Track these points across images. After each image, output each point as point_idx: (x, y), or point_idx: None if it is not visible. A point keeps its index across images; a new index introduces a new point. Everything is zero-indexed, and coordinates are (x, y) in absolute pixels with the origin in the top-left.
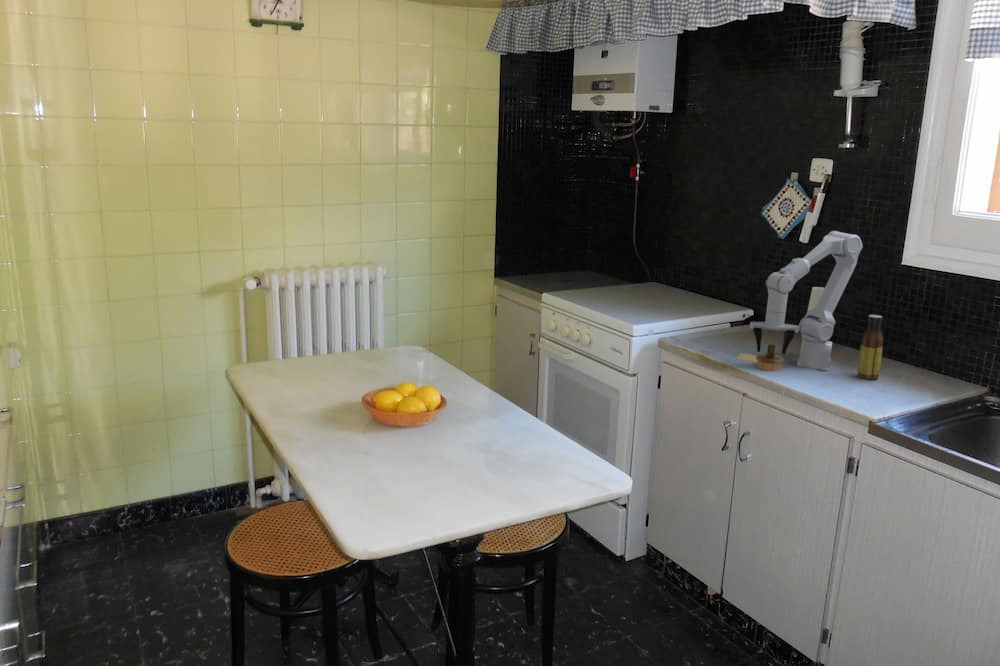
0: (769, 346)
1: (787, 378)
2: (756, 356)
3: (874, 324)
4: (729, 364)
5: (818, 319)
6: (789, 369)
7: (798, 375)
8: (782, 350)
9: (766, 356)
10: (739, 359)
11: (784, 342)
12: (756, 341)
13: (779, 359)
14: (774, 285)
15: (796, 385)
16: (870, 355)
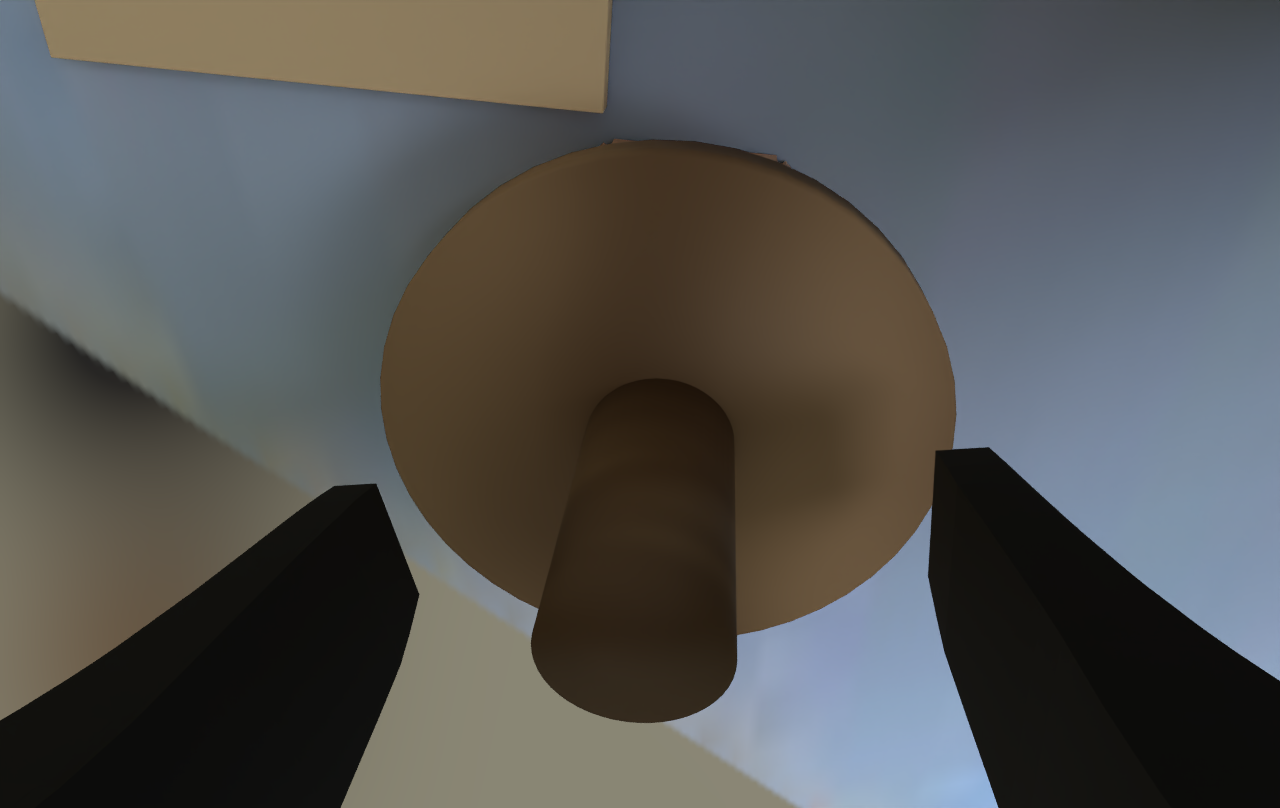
0: (581, 688)
1: (910, 643)
2: (394, 448)
3: None
4: (81, 335)
5: None
6: (1054, 219)
7: (1118, 488)
8: (947, 525)
9: (582, 410)
10: (94, 54)
11: (1040, 787)
12: (166, 636)
13: (844, 516)
14: None
15: (967, 804)
16: None
